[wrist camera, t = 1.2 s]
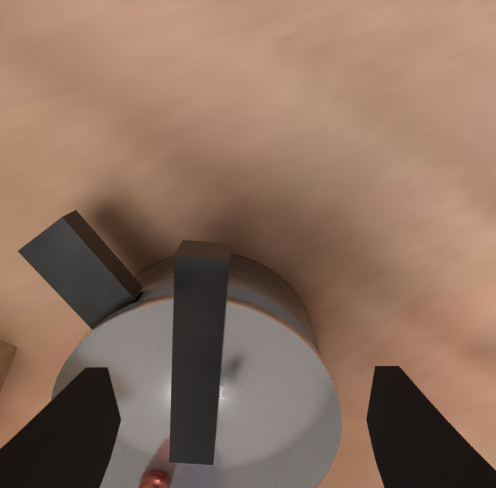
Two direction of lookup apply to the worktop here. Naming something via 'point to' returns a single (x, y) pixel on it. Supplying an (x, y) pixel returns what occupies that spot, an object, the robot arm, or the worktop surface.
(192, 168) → the worktop surface
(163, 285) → the cooker pot
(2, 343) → the sandwich container
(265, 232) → the worktop surface
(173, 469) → the cooker lid
